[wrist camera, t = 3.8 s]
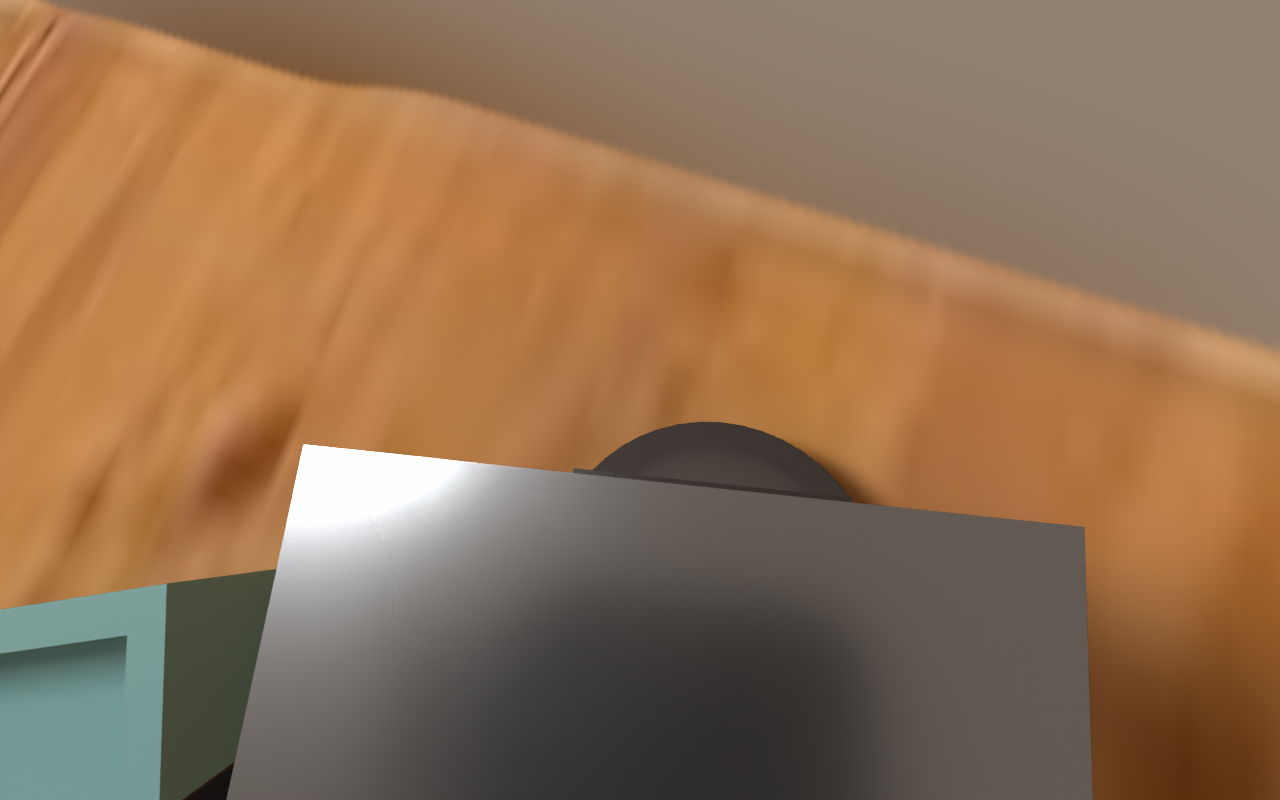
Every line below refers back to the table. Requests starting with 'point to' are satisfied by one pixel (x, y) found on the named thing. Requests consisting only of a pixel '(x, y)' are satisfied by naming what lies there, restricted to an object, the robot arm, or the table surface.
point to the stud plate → (722, 458)
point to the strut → (657, 643)
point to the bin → (128, 689)
